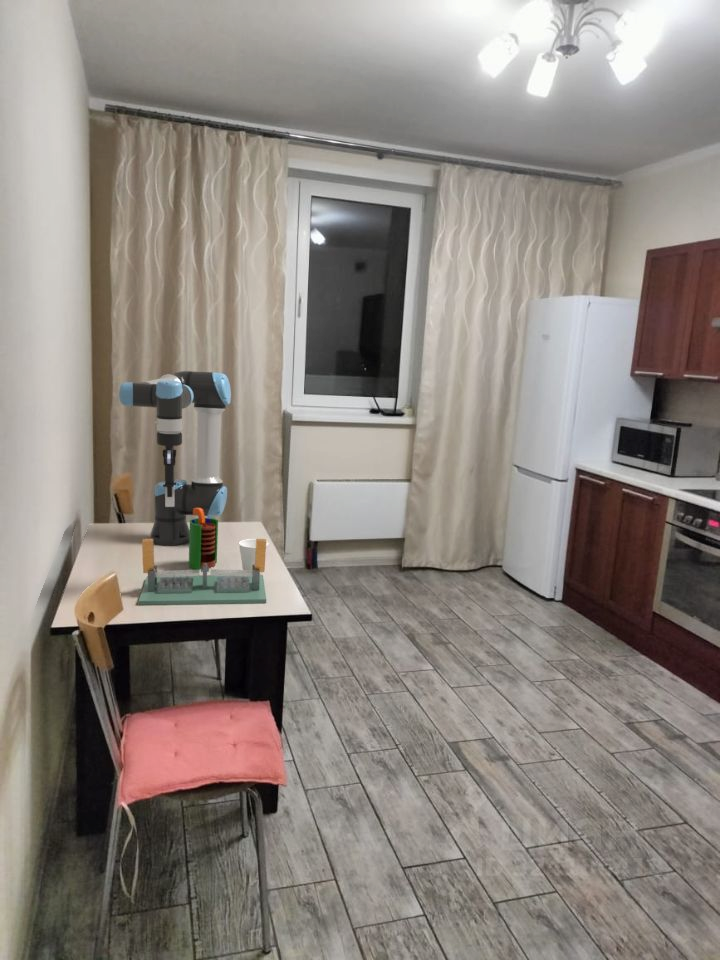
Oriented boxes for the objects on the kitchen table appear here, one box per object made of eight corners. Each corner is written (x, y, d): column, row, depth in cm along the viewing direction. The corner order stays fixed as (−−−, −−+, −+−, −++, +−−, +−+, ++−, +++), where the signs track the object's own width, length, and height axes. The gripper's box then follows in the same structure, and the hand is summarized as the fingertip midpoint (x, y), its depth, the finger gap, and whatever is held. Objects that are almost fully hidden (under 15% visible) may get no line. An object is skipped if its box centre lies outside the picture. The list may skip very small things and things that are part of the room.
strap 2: (263, 575, 221) (265, 538, 218) (263, 578, 218) (266, 541, 216) (210, 574, 218) (212, 537, 215) (210, 577, 215) (212, 539, 212)
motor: (208, 571, 235) (209, 513, 231) (183, 568, 236) (183, 511, 233) (220, 562, 245) (221, 507, 241) (196, 559, 246) (196, 504, 242)
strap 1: (143, 579, 211) (141, 541, 209) (144, 576, 214) (143, 538, 211) (199, 577, 214) (198, 540, 212) (199, 574, 217) (198, 537, 214)
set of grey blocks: (150, 582, 218) (150, 560, 217) (258, 581, 224) (258, 559, 223) (147, 593, 209) (147, 570, 207) (259, 592, 215) (260, 569, 213)
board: (147, 579, 224) (147, 575, 224) (262, 578, 231) (262, 574, 231) (138, 605, 203) (138, 601, 202) (266, 602, 210) (266, 599, 209)
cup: (241, 568, 239) (241, 538, 237) (269, 570, 239) (270, 539, 237) (235, 578, 229) (235, 546, 227) (264, 580, 229) (265, 548, 227)
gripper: (157, 428, 218) (158, 501, 223) (155, 434, 206) (156, 511, 211) (182, 428, 220) (182, 500, 225) (181, 435, 208) (181, 511, 213)
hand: (169, 506), depth 218 cm, fingers closed
